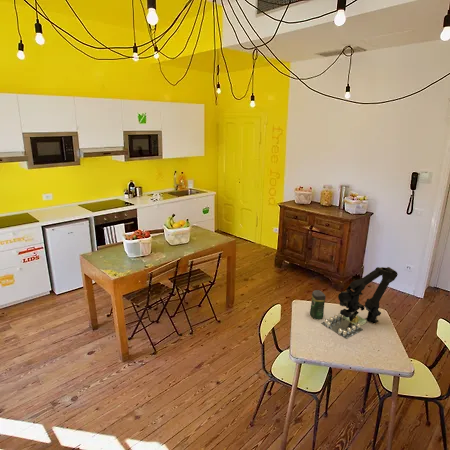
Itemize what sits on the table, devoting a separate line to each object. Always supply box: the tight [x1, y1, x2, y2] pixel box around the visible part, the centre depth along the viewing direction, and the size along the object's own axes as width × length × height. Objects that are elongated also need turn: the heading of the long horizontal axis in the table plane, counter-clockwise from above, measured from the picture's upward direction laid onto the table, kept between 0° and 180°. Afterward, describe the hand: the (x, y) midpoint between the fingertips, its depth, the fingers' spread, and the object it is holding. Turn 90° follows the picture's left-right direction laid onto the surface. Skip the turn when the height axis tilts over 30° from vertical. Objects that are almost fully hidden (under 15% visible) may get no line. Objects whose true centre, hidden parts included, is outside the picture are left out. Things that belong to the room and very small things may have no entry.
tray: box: [342, 314, 368, 327], centre depth 229 cm, size 9×12×2 cm
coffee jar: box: [309, 289, 327, 320], centre depth 231 cm, size 10×8×19 cm
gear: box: [351, 316, 359, 323], centre depth 228 cm, size 6×6×2 cm
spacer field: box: [320, 312, 364, 340], centre depth 221 cm, size 18×20×4 cm
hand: (350, 321), depth 226 cm, fingers closed
